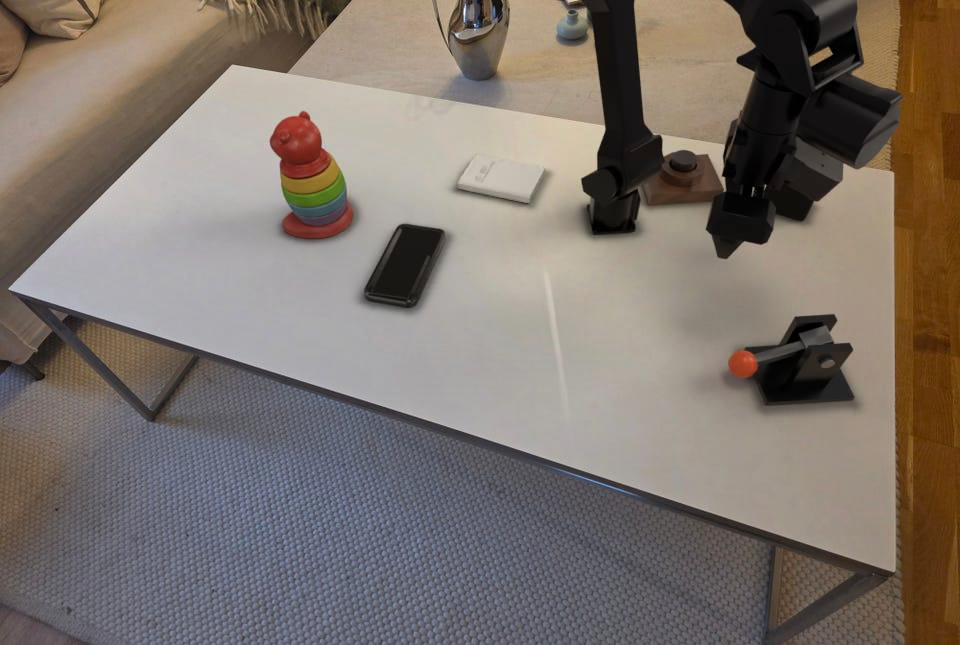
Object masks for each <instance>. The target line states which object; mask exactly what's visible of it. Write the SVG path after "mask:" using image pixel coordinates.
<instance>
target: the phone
mask: <svg viewBox="0 0 960 645" xmlns="http://www.w3.org/2000/svg"><path fill="white" fill-rule="evenodd" d="M446 239H447V238H446V231H445V230H444V229H442V228H437V227H430V226H424V225H418V224H410V223H400V224H399V225H397V226H396V228H395V230H394V232H393V233H392V236H391V238H390V239H389V241H388V243H387V245H386V247H385V248H384V251H383V252H382V254H381V256H380V258H379V260H378V262H377V264H376V266H375V268H374V270H373V271H372V273H371V275H370V277H369V279H368V280H367V283H366V284H365V286H364V289H363V292H364V293H363V294H364V296H365V298H366V300H368V301H371V302H376V303H381V304H386V305H387V304H388V305H392V306H397V307H404V308H412V307H415V306H416V305H417V303H418V302H419V300H420V297H421V296H422V293H423V291H424V289H425V286H426V284H427V282H428V280H429V278H430V275H431V273H432V271H433V269H434V266H435V264H436V262H437V259H439V255H440V254H441V251H442V249H443V246H444V244H445V242H446Z"/></svg>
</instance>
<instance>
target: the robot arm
mask: <svg viewBox="0 0 960 645" xmlns="http://www.w3.org/2000/svg"><path fill="white" fill-rule="evenodd" d="M580 1H581V2H582V4H583V5H584V6H585V7H586V9H587V10H588V11H589V13H590V18H591V25H592V32H593V40H594V41H593V42H594V48H595V57H596V64H597V73H598V82H599V88H600V97H601V105H602V114H603V121H604V132H603V135H602V138H601V141H600V144H599V146H598V149H597V152H596V169H595V170H593V171H592V172H590V173H588V174H586V175H585V176H582V177H581V178H580V181H581V182H580V183H581V188H582V192H583V193H585V194H586V195H587V196H588V197H590V198H589V203H588V204H587V205H586V212H587V217H588V220H589V221H588V222H589V225H590V226H589V227H590V230H591V233H592V234H593V235H608V234H622V233H623V234H624V233H635V232H636V229H637V226H636V223H635V221H637V220H638V217H639V211H640V207H641V201H642V198H641V194H640V193H639V188H641V187H643V185H644V184H646V183H647V182H649V181H651V180H653V179H654V178H656V176H657V175H658V174H659V173H660V172H661V168H662V164H663V163H665V159H664V152H663V143H664V139H663V137H662V135H661V134H654V133H653V131H651V129H650V128H649V127H648V125H647V124H646V123H645V118H644V106H643V95H642V94H643V93H642V83H641V71H640V59H639V48H638V47H639V46H638V36H637V25H636V23H637V22H636V11H635V0H580ZM722 1H723V2H724V3H726V4H727V5H728V6H730V8H732V10H734V11H735V12H736V13H737V15H738V16H739V19H740V22H741V26H742V29H743V32H744V34H745V36H746V38H747V39H748V40H749V41H750V42H751V43H752V44H753V45H754V47H753V48H752V49H749V50H748V51H746V52H744V53H742V54H740V55H739V56H737V57H736V58H735V59H736V60H735V61H736V62H735V63H736V64H737V65H739V66H741V67H743V68H745V69H747V70H749V71H751V72H753V76H752V79H751V82H750V85H749V88H748V91H747V94H746V97H745V101H744V103H743V107H742V109H740V111H739V114H738V116H737V118H735V119H733V120H731V122H730V124H729V129H728V131H727V134H726V139H725V143H724V150H723V153H722V161H723V163H722V164H723V167H722V173H721V175H720V176H721V177H722V178H724V185H725V190H724V191H723V193H720V194H718V195H716V196H714V199H713V201H711V206H710V209H709V212H708V216H707V220H706V225H705V231H706V232H707V233H708V234H709V235H710V236H711V238H712V242H713V246H714V249H715V253H716V257H717V258H718V259H722V260H728V259H729V258H730V257H731V256H732V255H733V254H734V253H735V251H737V250H738V249H739V247H740V246H741V245H743V243H745V242H746V243H750V244H755V245H759V246H762V245H765V244H767V243H768V242H769V240H770V237H771V235H772V233H773V232H774V228H775V220H776V214H777V213H776V207H775V206H774V205H773V203H772V202H771V201H770V200H769V199H764V198H763V195H764V190H765V188H766V185H768V188H771V189H776V190H780V189H781V187H782V185H783V182H784V183H785V184H786V185H788V186H789V187H791V188H793V189H795V190H797V191H799V192H801V193H802V194H804V195H806V196H808V198H809V199H810V200H812V201H814V202H817V203H818V202H820V201H821V200H822V199H824V198H825V197H826V196H827V195H828V194H830V192H831V191H833V190H834V189H835V188H836V187H837V186H839V185H840V184H841V183H842V182H843V180H844V165H846V166H848V167H850V168H851V169H854V170H860V169H862V168H864V167H865V166H867V165H868V164H869V163H870V162H871V161H872V160H873V159H875V157H876V156H877V155H878V154H879V153H880V152H881V151H882V150H883V148H884V147H885V146H886V145H887V143H888V142H889V141H890V140H891V138H892V137H893V135H894V133H895V132H896V130H897V129H898V127H899V125H900V121H899V120H900V117H901V114H902V109H901V108H900V105H901V103H902V101H903V100H904V94H903V93H901V92H899V91H897V90H894V89H892V88H889V87H882V86H879V85H877V84H874V83H872V82H870V81H867V80H866V79H863V78H861V77H858V76H856V75H854V74H853V72H855V71H856V70H858V69H860V68H862V67H863V66H864V65H865V59H864V54H863V48H862V43H861V39H860V32H859V28H858V27H859V26H858V23H857V16H858V15H857V14H858V9H859V8H858V0H722ZM827 48H829V51H830V52H831V55H829V56H827V57H825V58H824V59H822V60H820V61H818V62H817V63H815V64H813V65H811V61H810V58H811V57H813V56H815V55H816V54H818V53H820V52H822V51H823V50H826V49H827Z"/></svg>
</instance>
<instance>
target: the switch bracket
mask: <svg viewBox="0 0 960 645" xmlns="http://www.w3.org/2000/svg"><path fill="white" fill-rule="evenodd" d="M838 321H839V320H838V318H837V316H836V314H835V313H827V314H813V315H797V316H794V317H793V319H792V321H791V322H790V324H789V325H788V328H787V330H786V331H785V333H784V334H783V336H782V338H781V340H780V342H779V343H778V344H774V345H773V344H772V345H759V346H745V347H744V349H743V350H744V351H748V352H751V353H752V354H753V355H754V354H757V353H761V352H764V351H767V350H771V349H774V348H777V347H781V346H784V345H788V344H791V343H794V342H798V341H801V340H800V336H799V333H802V332H805V331H809V330H812V329H815V328H819V327H822V326H827V328H828V330H829V332H830V333H831V332H832V330H833V329H834V327H835V325H836V324H837V323H838ZM853 351H854V348H853V346H852V344H851V342H838V343H837V342H836V343H834V344H821V345H808V347H807V348H806V350H805V352H804V353H802V354H799V355H795V356H792V357H788V358H785V359H781V360H778V361H774V362H771V363H767V364H764V365H760V366H758V368H757V371H756V372H755V373H754V374H753V377H754V379H755V382H756V385H757V387H758V390H759V392H760V395H761V397H762V400H763V403H764V405H765V406H766V407H767V406H782V405H798V404H799V405H800V404H814V403H830V402H846V401H847V402H848V401H854V399H855V398H856V396H855V395H854V392H853V391H852V389H851V386H850V384H849V383H848V381H847V379H846V377H845V375H844V372H843V371H842V369H841V367H842V366H844V363H845V362H846V361H847V359H848V358H849V357H850V356H851V355H852V353H853Z"/></svg>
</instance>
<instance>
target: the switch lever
mask: <svg viewBox="0 0 960 645" xmlns="http://www.w3.org/2000/svg"><path fill="white" fill-rule="evenodd" d="M799 336H800V340H801V341H798V342H794V343H791V344H788V345H784V346H781V347H777V348H774V349H771V350H767V351H764V352H761V353H757V354H754V355H753V354H752V353H751V352H748V351H744V349H743V350H737V351H734V352H733V353H732V354H730V356H729V358H728V360H727V368H728V370H729V371H730V373H731V374H732V375H733V376H735V377H737V378H740V379H746V378H750V377H752V376H754V373H755V372H756V371H757V368H758V366H760V365H764V364H767V363H771V362H774V361H778V360H781V359H785V358H788V357H792V356H795V355H799V354H802V353H804V352H805V350H806V348H807V347H808V345H821V344H835V340H834V338H833V336H832V334H831V332H829V330H828V328H827V326H822V327H819V328H815V329H812V330H809V331H805V332H802V333H799Z"/></svg>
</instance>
